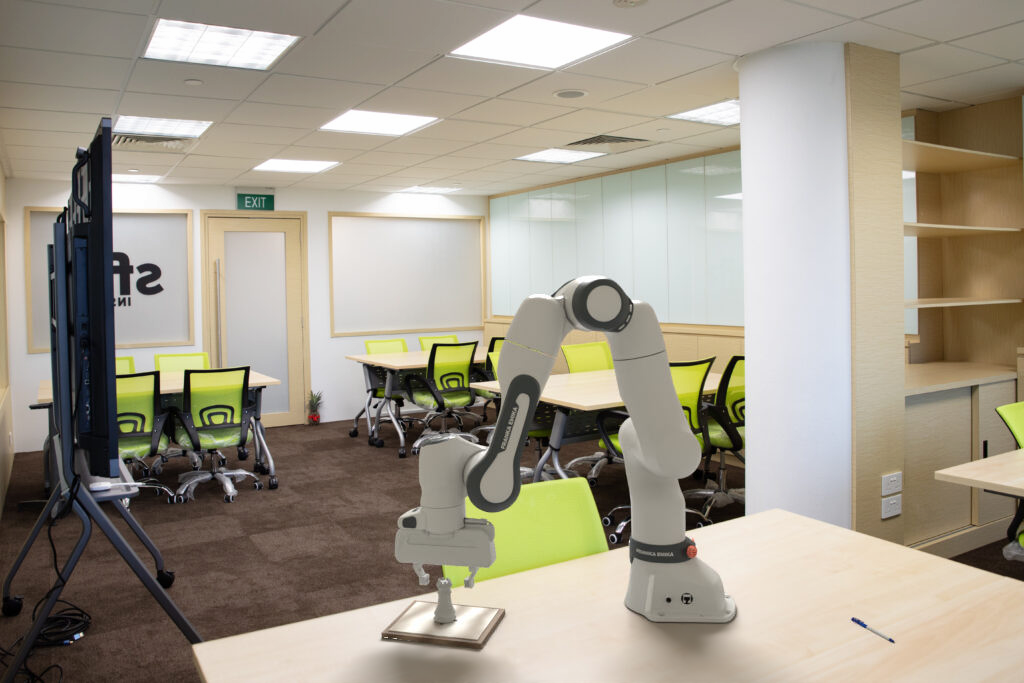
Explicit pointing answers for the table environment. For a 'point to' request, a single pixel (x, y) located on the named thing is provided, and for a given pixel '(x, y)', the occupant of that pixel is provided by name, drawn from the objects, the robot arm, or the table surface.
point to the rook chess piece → (444, 602)
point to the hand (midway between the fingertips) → (446, 585)
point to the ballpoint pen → (871, 629)
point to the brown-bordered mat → (445, 625)
